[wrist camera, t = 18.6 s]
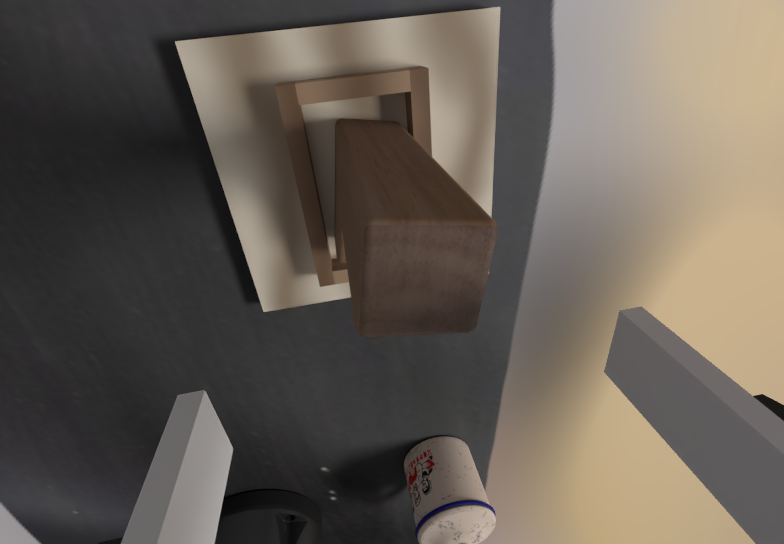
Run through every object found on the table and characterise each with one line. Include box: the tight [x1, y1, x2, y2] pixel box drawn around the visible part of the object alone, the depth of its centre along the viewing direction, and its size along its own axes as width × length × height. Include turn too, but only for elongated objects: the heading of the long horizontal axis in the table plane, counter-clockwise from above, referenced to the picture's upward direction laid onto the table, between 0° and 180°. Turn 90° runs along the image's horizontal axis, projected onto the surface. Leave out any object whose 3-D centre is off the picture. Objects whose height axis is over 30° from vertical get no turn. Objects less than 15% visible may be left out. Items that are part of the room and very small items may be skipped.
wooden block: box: [334, 118, 497, 337], centre depth 22 cm, size 9×4×18 cm, turn 175°
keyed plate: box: [175, 7, 500, 312], centre depth 29 cm, size 20×20×4 cm
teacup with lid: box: [404, 436, 496, 544], centre depth 46 cm, size 12×9×12 cm
